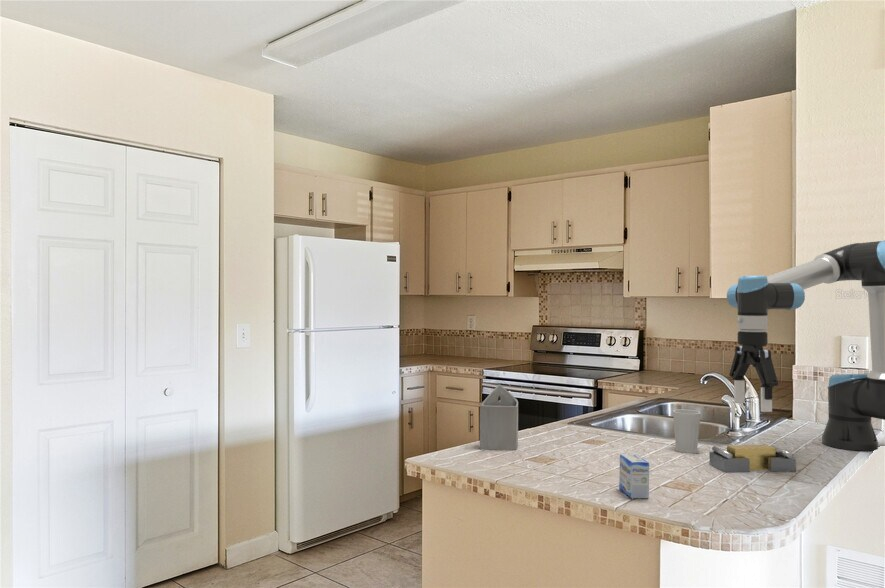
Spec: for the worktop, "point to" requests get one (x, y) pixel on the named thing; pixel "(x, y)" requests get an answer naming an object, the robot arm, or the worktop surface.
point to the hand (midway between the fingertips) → (752, 407)
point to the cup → (686, 430)
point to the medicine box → (634, 476)
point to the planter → (499, 421)
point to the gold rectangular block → (754, 454)
